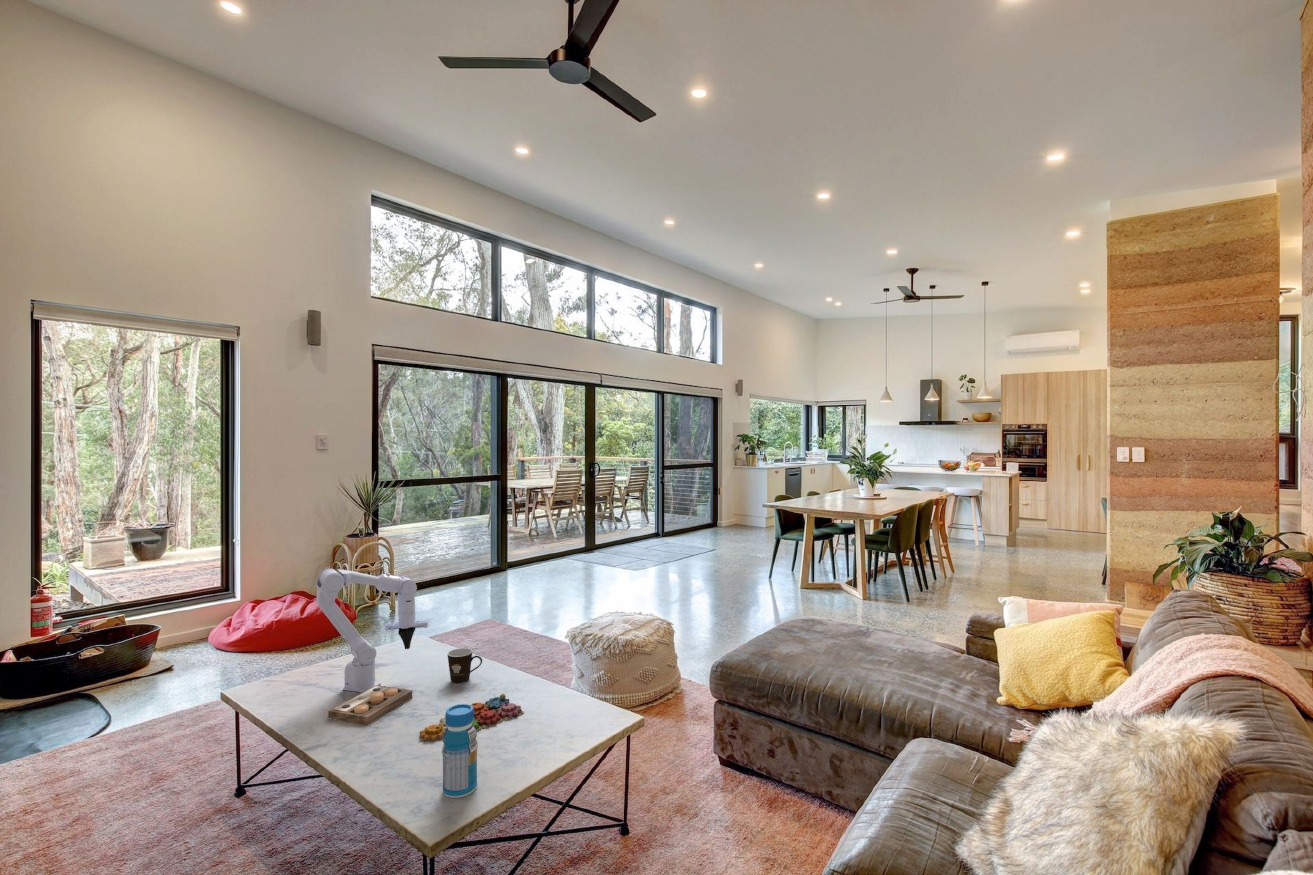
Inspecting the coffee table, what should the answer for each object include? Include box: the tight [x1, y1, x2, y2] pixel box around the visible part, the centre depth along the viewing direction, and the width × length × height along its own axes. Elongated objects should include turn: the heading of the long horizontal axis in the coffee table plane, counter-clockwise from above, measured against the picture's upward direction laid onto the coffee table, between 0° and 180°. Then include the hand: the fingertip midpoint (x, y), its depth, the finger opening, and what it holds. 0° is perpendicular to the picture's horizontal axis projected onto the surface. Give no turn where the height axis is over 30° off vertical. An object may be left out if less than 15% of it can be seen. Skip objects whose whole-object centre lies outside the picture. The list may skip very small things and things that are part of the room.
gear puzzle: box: [419, 693, 525, 741], centre depth 184 cm, size 31×16×4 cm, turn 134°
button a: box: [354, 705, 369, 714], centre depth 187 cm, size 4×4×2 cm
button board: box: [327, 685, 413, 726], centre depth 194 cm, size 15×20×3 cm
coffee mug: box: [446, 647, 483, 685], centre depth 215 cm, size 12×9×10 cm
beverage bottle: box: [441, 703, 479, 799], centre depth 149 cm, size 8×8×20 cm
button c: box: [385, 687, 398, 697], centre depth 199 cm, size 4×4×2 cm
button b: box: [370, 692, 384, 704], centre depth 193 cm, size 4×4×2 cm
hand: (407, 648), depth 219 cm, fingers closed
